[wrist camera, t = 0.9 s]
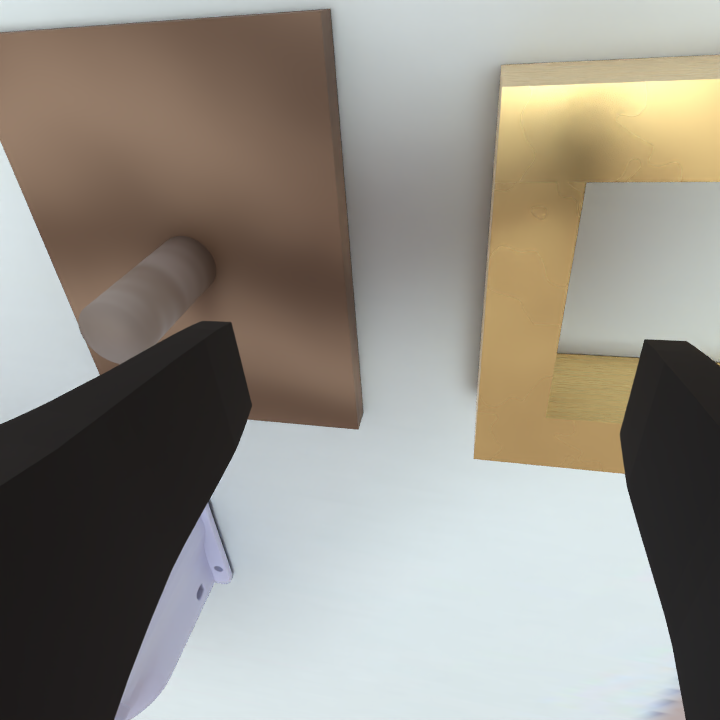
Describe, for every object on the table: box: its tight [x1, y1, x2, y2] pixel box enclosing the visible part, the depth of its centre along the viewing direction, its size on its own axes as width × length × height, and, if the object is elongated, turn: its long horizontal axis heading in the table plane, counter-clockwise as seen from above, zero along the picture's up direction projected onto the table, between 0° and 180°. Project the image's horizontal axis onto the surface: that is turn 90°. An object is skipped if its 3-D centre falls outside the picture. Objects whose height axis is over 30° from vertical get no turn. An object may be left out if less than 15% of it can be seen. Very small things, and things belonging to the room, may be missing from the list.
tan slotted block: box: [474, 55, 720, 474], centre depth 15 cm, size 11×11×4 cm
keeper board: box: [0, 9, 363, 429], centre depth 17 cm, size 14×11×6 cm
